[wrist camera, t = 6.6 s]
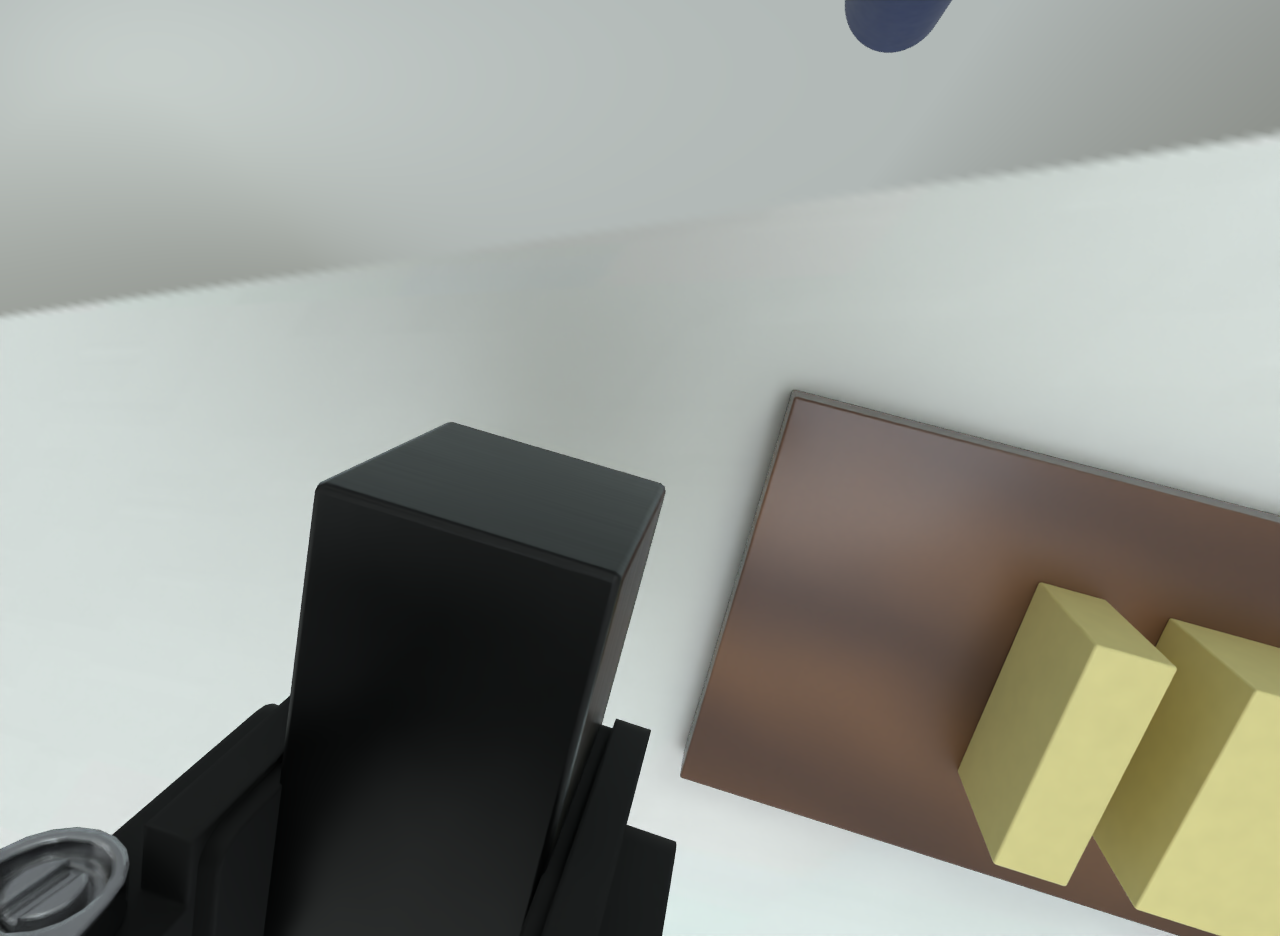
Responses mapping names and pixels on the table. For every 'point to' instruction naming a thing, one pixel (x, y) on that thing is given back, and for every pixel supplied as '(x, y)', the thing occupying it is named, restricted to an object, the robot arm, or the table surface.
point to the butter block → (1204, 790)
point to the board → (938, 618)
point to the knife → (449, 681)
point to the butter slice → (1060, 730)
